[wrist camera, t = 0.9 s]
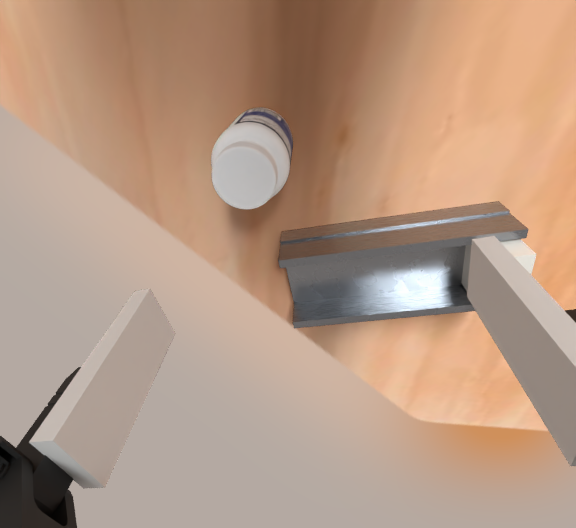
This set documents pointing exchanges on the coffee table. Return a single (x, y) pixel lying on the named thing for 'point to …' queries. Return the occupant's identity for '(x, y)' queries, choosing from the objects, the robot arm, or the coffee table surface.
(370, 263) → the rail
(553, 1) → the coffee table surface
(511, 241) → the mounted module
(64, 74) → the coffee table surface
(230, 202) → the pill bottle
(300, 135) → the coffee table surface
